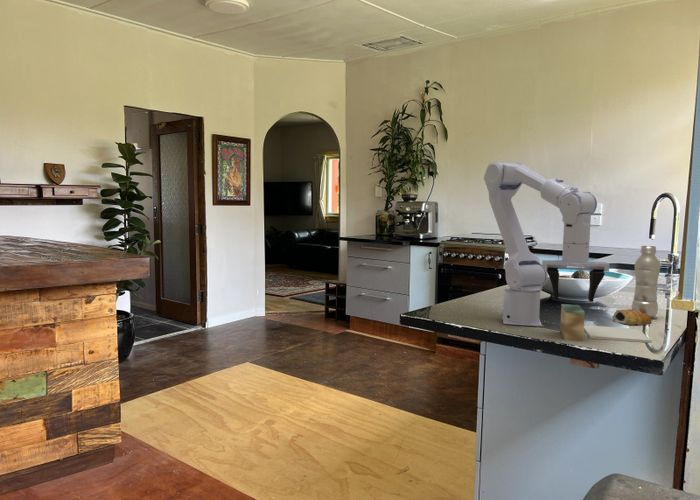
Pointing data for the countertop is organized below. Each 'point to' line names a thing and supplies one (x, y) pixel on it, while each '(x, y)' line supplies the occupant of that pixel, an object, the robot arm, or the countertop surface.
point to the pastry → (631, 317)
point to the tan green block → (572, 322)
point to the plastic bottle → (646, 282)
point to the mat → (616, 334)
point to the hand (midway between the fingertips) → (573, 300)
